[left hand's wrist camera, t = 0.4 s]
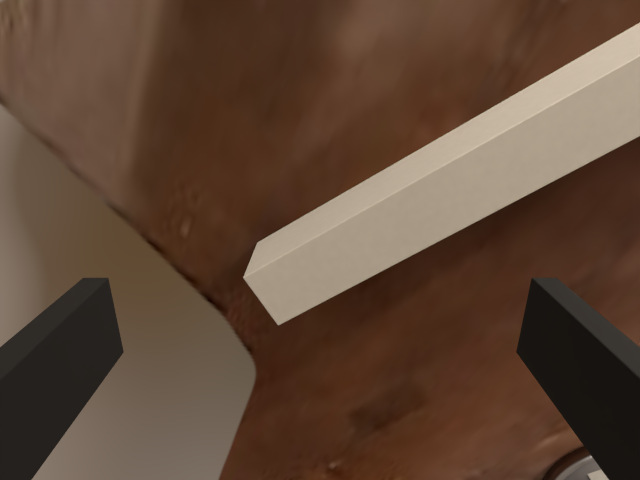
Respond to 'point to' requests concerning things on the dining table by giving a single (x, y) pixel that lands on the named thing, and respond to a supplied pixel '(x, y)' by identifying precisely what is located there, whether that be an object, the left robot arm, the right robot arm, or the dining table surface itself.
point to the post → (454, 180)
